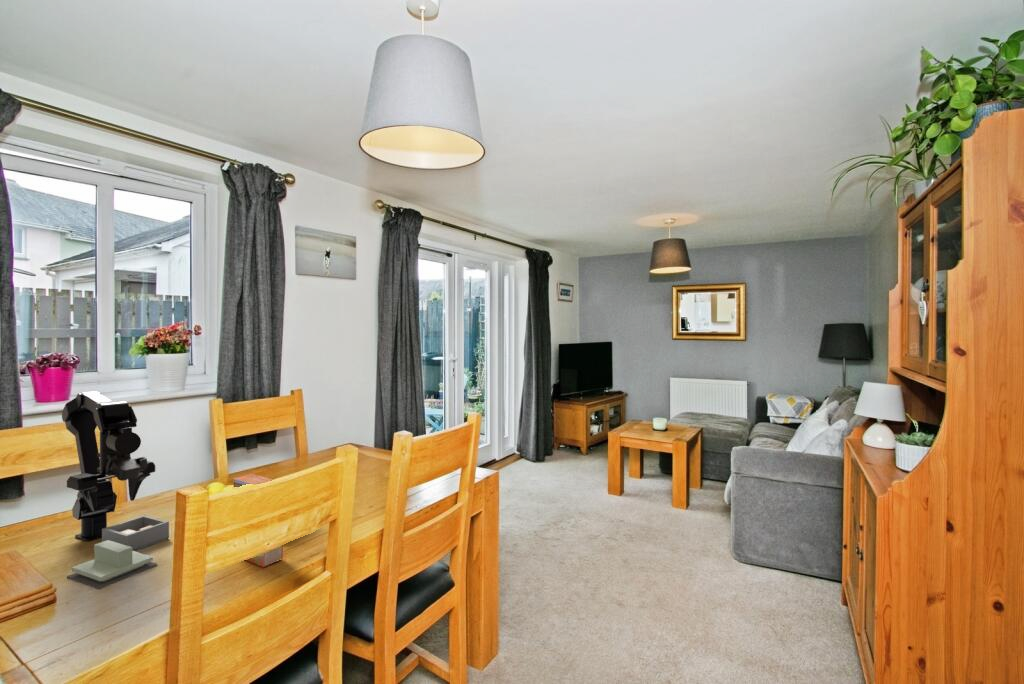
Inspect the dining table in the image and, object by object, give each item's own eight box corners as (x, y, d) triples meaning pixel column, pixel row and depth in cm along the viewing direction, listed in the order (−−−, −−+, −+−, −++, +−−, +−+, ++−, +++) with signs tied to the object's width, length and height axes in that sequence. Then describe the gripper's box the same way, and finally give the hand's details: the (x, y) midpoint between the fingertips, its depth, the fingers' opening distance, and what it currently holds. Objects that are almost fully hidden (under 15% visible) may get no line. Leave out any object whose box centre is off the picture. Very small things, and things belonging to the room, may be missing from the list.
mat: (66, 577, 122) (66, 576, 122) (125, 555, 134) (125, 554, 134) (98, 589, 116) (98, 587, 116) (157, 565, 128) (157, 563, 128)
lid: (71, 575, 122) (71, 550, 122) (124, 555, 133) (124, 533, 132) (100, 585, 117) (100, 560, 117) (152, 564, 128) (152, 541, 128)
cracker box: (284, 559, 133) (284, 481, 132) (262, 569, 128) (262, 487, 127) (254, 546, 140) (254, 472, 140) (232, 554, 135) (232, 477, 134)
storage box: (102, 546, 139) (101, 528, 138) (144, 532, 149) (144, 515, 148) (126, 554, 134) (126, 535, 134) (168, 538, 144) (168, 521, 144)
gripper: (91, 460, 125) (91, 522, 125) (168, 444, 142) (168, 499, 142) (65, 455, 129) (65, 515, 129) (142, 440, 146) (143, 493, 147)
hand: (113, 505), depth 137 cm, fingers open, 9 cm apart
